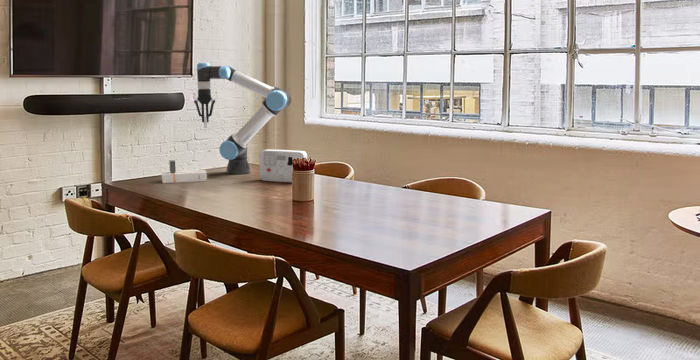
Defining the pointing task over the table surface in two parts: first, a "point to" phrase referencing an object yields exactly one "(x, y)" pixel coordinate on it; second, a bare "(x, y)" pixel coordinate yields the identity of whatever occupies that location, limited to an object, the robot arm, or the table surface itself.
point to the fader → (172, 166)
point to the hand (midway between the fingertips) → (205, 127)
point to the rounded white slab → (278, 164)
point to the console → (184, 176)
